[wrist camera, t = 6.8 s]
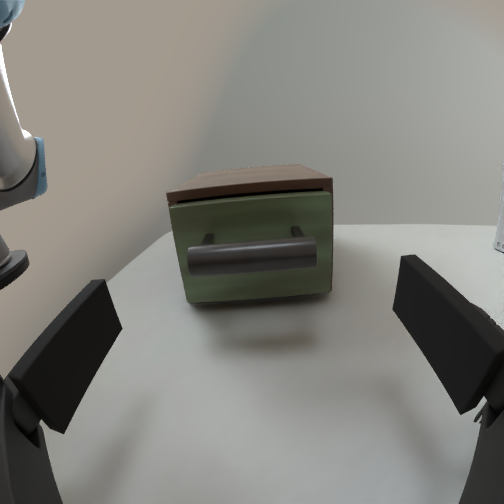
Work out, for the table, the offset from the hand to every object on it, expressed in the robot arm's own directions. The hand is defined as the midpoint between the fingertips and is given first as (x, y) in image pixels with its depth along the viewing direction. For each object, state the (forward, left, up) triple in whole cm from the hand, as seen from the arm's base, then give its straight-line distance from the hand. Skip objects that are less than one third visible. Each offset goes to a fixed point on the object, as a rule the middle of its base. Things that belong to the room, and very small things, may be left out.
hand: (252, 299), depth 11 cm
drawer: (-12, +7, -5) cm, 14 cm away
